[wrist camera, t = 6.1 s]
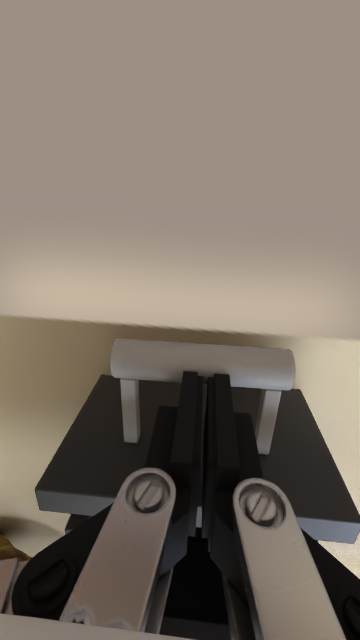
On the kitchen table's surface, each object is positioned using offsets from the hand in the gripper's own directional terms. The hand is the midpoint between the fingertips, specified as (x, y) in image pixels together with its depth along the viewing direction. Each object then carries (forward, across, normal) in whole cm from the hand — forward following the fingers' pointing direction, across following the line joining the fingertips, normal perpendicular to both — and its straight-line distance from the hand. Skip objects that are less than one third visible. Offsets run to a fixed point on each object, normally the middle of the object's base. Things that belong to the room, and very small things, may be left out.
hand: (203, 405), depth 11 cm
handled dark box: (+5, 0, +7) cm, 9 cm away
